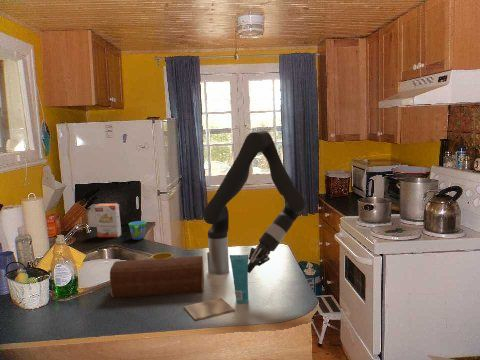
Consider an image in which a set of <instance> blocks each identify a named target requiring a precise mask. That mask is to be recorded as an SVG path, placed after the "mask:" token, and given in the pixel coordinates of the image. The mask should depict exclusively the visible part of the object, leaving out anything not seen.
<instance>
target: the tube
mask: <svg viewBox="0 0 480 360" xmlns="http://www.w3.org/2000/svg"><path fill="white" fill-rule="evenodd" d="M229 259H230V264H231V269H232V278H233V284H234V285H233V287H234V295H235V301H236V303H238V304H246V303H248V302H249V279H248V278H249V277H248V276H249V273H248V264H249V254H230V255H229Z"/></svg>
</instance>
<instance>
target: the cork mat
mask: <svg viewBox="0 0 480 360" xmlns="http://www.w3.org/2000/svg"><path fill="white" fill-rule="evenodd" d="M183 309H184V310H185V311H186V312H187V314H189V316H190V317H192V319H193V320H194V321H200V320H203V319H207V318H210V317H211V318H212V317H215V316H220V315H223V314H224V315H225V314H227V313H228V314H229V313H231V312H235V308H234V307H233V306H232V305H230V304H229V303H228V301H226V300H225V299H224V298H223V297H219V298H214V299H211V300H205V301H200V302H196V303H193V304H189V305H184V306H183Z"/></svg>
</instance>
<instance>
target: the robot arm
mask: <svg viewBox="0 0 480 360" xmlns="http://www.w3.org/2000/svg"><path fill="white" fill-rule="evenodd" d="M260 153H261V154H262V155H263V156H264V158H265V160H266V161H267V164H268V167H269V172H270V173H269V174H270V177H271V180H272V183H273V184H274V187H276V190H277V191H278V193H279V194H280V195H281V196H282V197H283V198H284V200H285V201H286V205H284V206H285V207H283V209H282V211H281V212H280V213H279V214H278V215H277V216H276V218H275V219H274V220H273V222H272V223H270V225H269V226H268V227H267V229H266V230H264V232H263V234H262V235H261V237H260V238H259V239H258V241H259V243H258V244H257V245H256V247H255V248H254V247H251V248H250V251H249V254H248V261H249V262H248V274H250V273H251V272H252V271H253V269H255V267H257V266H258V267H260V266H262V265H264V264H265V263H267V262H269V261H270V260H271V257H269V255H270V254H271V252H275V250H276V249H277V247H278V246H279V245H280V244H281V243H282V241H283V239H284V238H285V236H286V234H287V233H288V231H290V229H291V227H293V224H294V223H295V221H296V220H297V219H298V217H299V216H300V215H301V214H302V212H303V211H304V210H305V209H306V205H307V204H306V201H305V198H304V197H303V195H302V194H301V192H300V191H299V190H298V189H297V187H296V186H295V185H294V182H293V180H292V178H291V177H290V175H289V173H288V172H287V170H286V169H285V165H284V164H283V162H282V160H281V158H280V155H279V152H278V150H277V147H276V145H275V142H274V139H273V137H272V135H271V134H270V132H268V131H266V130H254V131H251V132H250V133H248V134H247V135H246V137H245V139H244V141H243V143H242V146H241V148H240V150H239V152H238V154H237V156H236V158H235V159H234V161H233V162H232V165H231V167H230V168H229V169H228V171H227V173H226V174H225V176H224V177H223V179H222V182H221V183H220V185H219V187H218V188H217V190H216V192H215V194H214V195H213V197H212V198H211V199H210V201H209V202H208V203H207V204H206V206H205V208H204V209H203V211H202V212H203V213H202V216H203V217H202V218H203V220H204V222H205V223H206V224H209V225H211V227H210V228H209V229H208V231H207V243H208V252H207V253H206V258H207V271H208V273H211V274H212V275H224V274H227V273H229V272H230V266H229V265H230V264H229V262H230V261H229V259H230V258H229V245H228V244H229V243H228V240H229V239H228V232H229V228H230V227H229V223H230V222H229V219H230V218H229V215H230V214H229V209H228V206H227V205H228V203H230V201H231V200H232V199H234V198H235V197H236V196H237V195H238V194H239V193H240V192H241V191H242V189H243V188H244V187H245V186H244V185H245V184H246V183H247V181H248V179H249V176H250V167H251V165H252V163H253V162H254V159H255V158H256V157H257V155H258V154H260Z"/></svg>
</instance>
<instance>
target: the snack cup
mask: <svg viewBox="0 0 480 360" xmlns="http://www.w3.org/2000/svg"><path fill="white" fill-rule="evenodd" d="M146 225H147V222H146V221H144V220H136V221H131V222H129V223H128V227H129V231H130V235H131V238H132V240H133V241H134V240H136V241H139V240H143V239H144V238H145V237H146Z"/></svg>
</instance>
